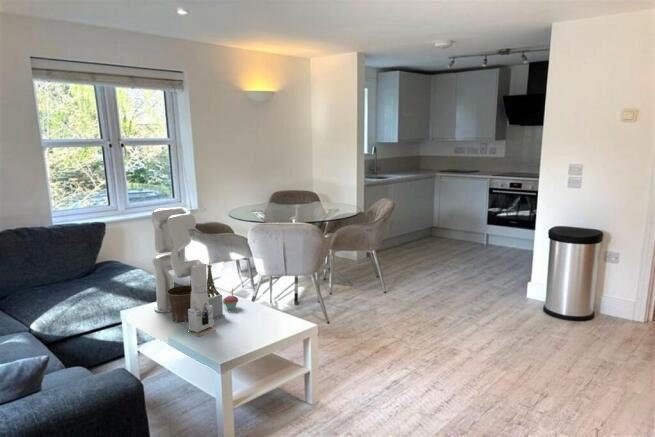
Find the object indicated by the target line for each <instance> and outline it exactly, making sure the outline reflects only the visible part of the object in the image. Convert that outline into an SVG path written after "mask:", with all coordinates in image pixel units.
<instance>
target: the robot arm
mask: <svg viewBox="0 0 655 437" xmlns="http://www.w3.org/2000/svg"><path fill="white" fill-rule="evenodd" d="M150 218H151V223H152V225H153V228H154V248H155V251H156V252H157V254H158V253H159V255H157V256H154V258H153V259H152V263H151V264H152V268H153V271H154V278H155V291H156V301H155V302H156V306H155V307H154V312H156V313H172V311H171V305H170V300H169V297H168V294H167V291H168V290H169V289H171V288H173V287H175V285H174V283H175V282H174V277H173V276H172V274H171V273H170V272H171V271H173V274H174V275H175V276H176V277H177V278H179V279H180V278H181V279H182V278H187V277H190V284H191V285H190V286H191V299H190V305H191V308H195V309H197V310H199V311H200V313H202V316H203V317H202V325H206V324H208V323H209V322H208V316H209V314H210V312H211V311H210V309H209V300H208V298H209V297H208V294H207V279H208V272H207V266H206V264H205V263H204V262H203V263H202V262H201V260H199V259H193V260H187V261H186V247H187V246H189V245H190V244H191V242H192V238H191V237H190V234H189V230H193V229H195V228H196V226H197V220H196V217H195V216H194V214H193V213H192V212H191V211H189V210H188V209H186V208H185V207H183V206H177V207H176V206H174V207H166V208H158V209H155V210H153V211H152V212H151V217H150ZM204 309H206V310H205V311H204ZM204 312H206V313H205V315H204Z"/></svg>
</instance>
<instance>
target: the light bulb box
mask: <svg viewBox="0 0 655 437" xmlns="http://www.w3.org/2000/svg"><path fill="white" fill-rule="evenodd" d="M209 309H210V311H211V312H210V314H209V316H208V322H209V323H208V324H206V325H202V317H203V316H202V313H200V311H199V310H197V309H195V308H190V309H188V320H189V322H188V330H189V329H190V330H192V331H195V332H199V331H201V330H204V329H206V328H208V327H213V326H214V321H213V307H212V305H209ZM205 310H206V309H204V311H205ZM205 313H206V312H204V315H205Z"/></svg>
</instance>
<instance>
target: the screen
mask: <svg viewBox="0 0 655 437" xmlns="http://www.w3.org/2000/svg"><path fill="white" fill-rule="evenodd" d="M208 300H209V305H212V307H213V322H214V321H217V320H220V319H223V318H226V315H225V314H223V294H221V293H220V295H214V296H213V297H212V296H209V297H208Z"/></svg>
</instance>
